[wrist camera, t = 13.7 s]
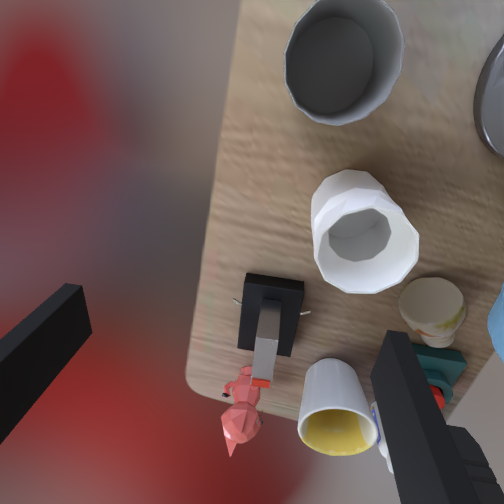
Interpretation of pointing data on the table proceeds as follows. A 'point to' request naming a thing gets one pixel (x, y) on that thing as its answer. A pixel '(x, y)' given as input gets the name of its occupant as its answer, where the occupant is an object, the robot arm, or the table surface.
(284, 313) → the plate
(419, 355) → the switch
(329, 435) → the mug
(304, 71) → the cup
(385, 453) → the pill bottle
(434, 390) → the button
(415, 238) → the vase
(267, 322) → the spout
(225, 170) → the table surface
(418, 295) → the mug
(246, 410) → the pink cat figurine
